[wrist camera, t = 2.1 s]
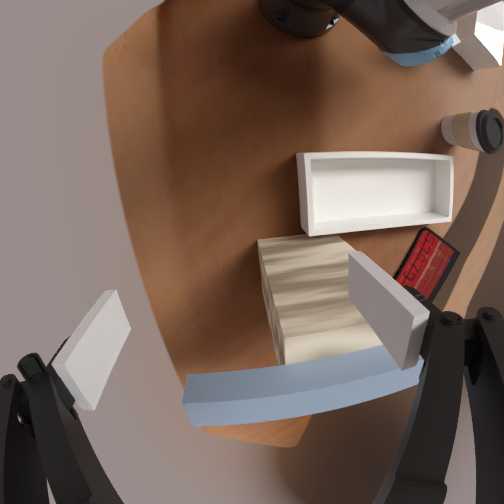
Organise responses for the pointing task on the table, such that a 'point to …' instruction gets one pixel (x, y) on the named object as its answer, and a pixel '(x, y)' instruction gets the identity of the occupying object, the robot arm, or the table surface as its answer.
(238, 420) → the block
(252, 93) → the table surface
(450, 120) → the coffee cup
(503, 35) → the stack of papers
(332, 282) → the beige tall box
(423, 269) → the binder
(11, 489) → the robot arm
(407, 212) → the tray
